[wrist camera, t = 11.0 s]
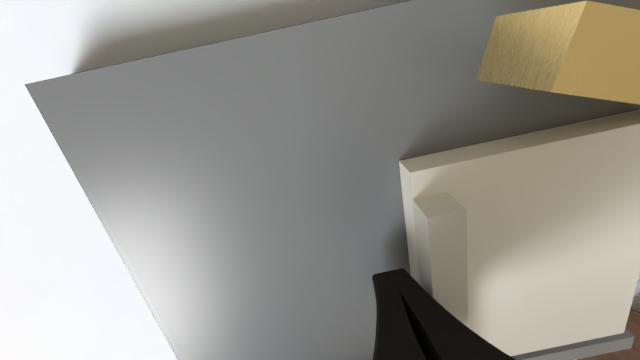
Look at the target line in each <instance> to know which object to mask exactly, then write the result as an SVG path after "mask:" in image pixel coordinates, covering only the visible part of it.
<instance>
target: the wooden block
mask: <svg viewBox="0 0 640 360" xmlns="http://www.w3.org/2000/svg"><path fill="white" fill-rule="evenodd" d="M625 329H627V330H628V331H629V332H630V333H631V334H632V335H634V336H635V337H634V341H633V344H632V348H630V349H625V350H620V351H615V352H610V353H606V354H601V355H596V356H591V357H586V358H582V359H577V360H640V313H638V312H635V311H633V310H630V312H629V316H628V320H627V324H626V327H625Z"/></svg>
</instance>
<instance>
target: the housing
mask: <svg viewBox="0 0 640 360" xmlns="http://www.w3.org/2000/svg"><path fill="white" fill-rule="evenodd" d="M581 1H593V2H598V3H604V4H609V5H615V6H620V7H626V8H631V9H637V10H640V0H411V1H406V2H402V3H397V4H392V5H388V6H383V7H379V8H374V9H369V10H365V11H360V12H356V13H351V14H346V15H342V16H337V17H333V18H328V19H324V20H319V21H314V22H310V23H305V24H301V25H296V26H291V27H287V28H282V29H278V30H273V31H268V32H264V33H259V34H255V35H250V36H245V37H241V38H236V39H232V40H227V41H222V42H218V43H213V44H209V45H204V46H200V47H195V48H190V49H186V50H181V51H177V52H172V53H167V54H163V55H158V56H154V57H149V58H144V59H140V60H135V61H131V62H126V63H121V64H117V65H112V66H108V67H103V68H98V69H94V70H89V71H85V72H80V73H75V74H71V75H66V76H62V77H57V78H53V79H48V80H43V81H39V82H34V83H30V84H25V86H26V88H27V90H28V91H29V93H30V95H31V97H32V98H33V100H34V102H35V104H36V106H37V107H38V109H39V111H40V113H41V115H42V116H43V118H44V120H45V122H46V124H47V125H48V127H49V129H50V131H51V133H52V134H53V136H54V138H55V140H56V142H57V143H58V145H59V147H60V149H61V151H62V152H63V154H64V156H65V158H66V160H67V161H68V163H69V165H70V167H71V169H72V170H73V172H74V174H75V176H76V178H77V179H78V181H79V183H80V185H81V187H82V188H83V190H84V192H85V194H86V196H87V197H88V199H89V201H90V203H91V205H92V206H93V208H94V210H95V212H96V213H97V215H98V217H99V219H100V221H101V222H102V224H103V226H104V228H105V230H106V231H107V233H108V235H109V237H110V239H111V240H112V242H113V244H114V246H115V248H116V249H117V251H118V253H119V255H120V257H121V258H122V260H123V262H124V264H125V266H126V267H127V269H128V271H129V273H130V275H131V276H132V278H133V280H134V282H135V284H136V285H137V287H138V289H139V291H140V293H141V294H142V296H143V298H144V300H145V302H146V303H147V305H148V307H149V309H150V311H151V312H152V314H153V316H154V318H155V319H156V321H157V323H158V325H159V327H160V328H161V330H162V332H163V334H164V336H165V337H166V339H167V341H168V343H169V345H170V346H171V348H172V350H173V352H174V354H175V355H176V357H177V359H178V360H373V354H374V346H375V335H376V319H377V309H376V298H375V292H374V286H373V280H372V276H373V275H374V274H377V273H382V272H386V271H391V270H396V269H401V268H404V269H405V270H407V272H408V273H409V274H410V264H409V255H408V245H407V235H406V226H405V216H404V207H403V197H402V187H401V178H400V168H399V161H400V160H405V159H409V158H414V157H419V156H424V155H428V154H433V153H438V152H442V151H447V150H452V149H456V148H461V147H466V146H470V145H475V144H480V143H484V142H489V141H494V140H499V139H503V138H508V137H513V136H517V135H522V134H527V133H531V132H536V131H541V130H545V129H550V128H555V127H559V126H564V125H569V124H573V123H578V122H583V121H588V120H592V119H597V118H602V117H606V116H611V115H616V114H620V113H625V112H630V111H634V110H639V109H640V104H633V103H625V102H618V101H611V100H604V99H597V98H590V97H582V96H575V95H568V94H561V93H554V92H547V91H541V90H535V89H528V88H522V87H516V86H510V85H503V84H497V83H491V82H485V81H478V80H476V79H477V76H478V73H479V69H480V66H481V63H482V60H483V56H484V53H485V50H486V47H487V43H488V40H489V37H490V34H491V30H492V27H493V24H494V20H495V17H496V16H501V15H506V14H512V13H518V12H524V11H529V10H535V9H541V8H547V7H553V6H558V5H564V4H570V3H576V2H581ZM410 275H411V274H410ZM634 337H635V336H634V335H632V334H631V333H630V332H629V331H628V330H627V329H625V331H624V333H621V334H616V335H611V336H606V337H601V338H596V339H592V340H587V341H582V342H577V343H572V344H568V345H563V346H558V347H553V348H548V349H543V350H539V351H534V352H529V353H524V354H519V355H515V356H511V357H512V358H514V359H516V360H577V359H582V358H586V357H591V356H596V355H601V354H606V353H610V352H615V351H620V350H625V349H630V348H632V344H633V341H634Z"/></svg>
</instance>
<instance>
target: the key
mask: <svg viewBox="0 0 640 360" xmlns="http://www.w3.org/2000/svg"><path fill="white" fill-rule="evenodd" d="M476 80H478V81H485V82H491V83H497V84H503V85H510V86H516V87H522V88H528V89H535V90H541V91H547V92H554V93H561V94H568V95H575V96H582V97H590V98H597V99H604V100H611V101H618V102H625V103H633V104H640V10H637V9H631V8H626V7H620V6H615V5H609V4H604V3H598V2H593V1H581V2H576V3H570V4H564V5H558V6H553V7H547V8H541V9H535V10H529V11H524V12H518V13H512V14H506V15H501V16H496V17H495V20H494V24H493V27H492V30H491V34H490V37H489V40H488V43H487V47H486V50H485V53H484V56H483V60H482V63H481V66H480V69H479V73H478V76H477V79H476Z"/></svg>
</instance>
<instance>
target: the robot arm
mask: <svg viewBox="0 0 640 360" xmlns="http://www.w3.org/2000/svg"><path fill="white" fill-rule="evenodd" d="M372 280H373V286H374V292H375V298H376V309H377V319H376V335H375V346H374V354H373V360H516V359H514V358H512V357H511V356H509V355H507V354H506V353H504V352H502V351H501V350H499V349H498V348H496V347H495V346H493V345H492V344H490V343H489V342H488V341H486V340H485V339H483V338H482V337H480V336H479V335H478V334H476V333H475V332H474V331H472V330H471V329H470V328H468V327H467V326H466V325H464V324H463V323H462V322H461V321H459V320H458V319H457V318H456V317H454V316H453V315H452V314H451V313H450V312H448V311H447V310H446V309H445V308H444V307H443V306H442V305H440V304H439V303H438V302H437V301H436V300H435V299H434V298H433V297H432V296H431V295H430V294H429V293H427V292H426V291H425V290H424V289H423V288H422V287H421V286H420V285H419V284H418V283H417V281H416V280H415V279H414V278H413V277H412V276H411V275H410V274H409V273H408V272H407V270H405V269H404V268H401V269H396V270H391V271H386V272H382V273H377V274H374V275H373V276H372Z"/></svg>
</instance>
